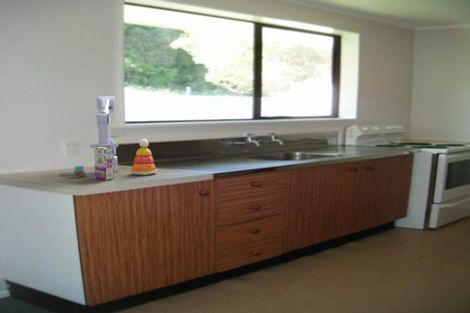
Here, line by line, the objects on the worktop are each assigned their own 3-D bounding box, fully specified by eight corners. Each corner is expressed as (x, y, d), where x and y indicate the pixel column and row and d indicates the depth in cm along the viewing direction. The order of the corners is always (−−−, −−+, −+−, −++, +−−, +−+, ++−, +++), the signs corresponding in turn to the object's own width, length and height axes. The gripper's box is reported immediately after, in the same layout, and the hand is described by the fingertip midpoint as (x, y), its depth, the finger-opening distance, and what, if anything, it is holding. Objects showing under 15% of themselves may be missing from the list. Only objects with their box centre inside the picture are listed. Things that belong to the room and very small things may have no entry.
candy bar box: (114, 179, 251) (113, 147, 249) (105, 180, 247) (104, 148, 246) (103, 177, 259) (102, 146, 257) (94, 178, 255) (93, 147, 253)
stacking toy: (145, 176, 259) (144, 140, 257) (125, 174, 266) (124, 139, 264) (162, 173, 272) (161, 138, 269) (142, 171, 279) (141, 137, 276)
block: (83, 176, 263) (82, 165, 262) (83, 177, 259) (83, 166, 258) (75, 176, 261) (74, 165, 261) (75, 177, 258) (75, 166, 257)
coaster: (77, 173, 274) (77, 172, 274) (78, 175, 265) (78, 174, 265) (60, 174, 271) (60, 173, 271) (60, 176, 262) (60, 175, 262)
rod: (96, 176, 264) (95, 171, 264) (95, 176, 262) (95, 172, 261) (84, 176, 263) (84, 172, 262) (84, 177, 260) (84, 172, 260)
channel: (84, 175, 264) (83, 170, 264) (84, 177, 258) (84, 172, 258) (74, 176, 263) (74, 170, 262) (74, 178, 256) (74, 172, 256)
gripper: (90, 136, 256) (91, 162, 258) (118, 135, 261) (119, 161, 263) (89, 135, 263) (90, 160, 264) (117, 135, 268) (117, 159, 269)
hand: (104, 160), depth 264 cm, fingers closed
